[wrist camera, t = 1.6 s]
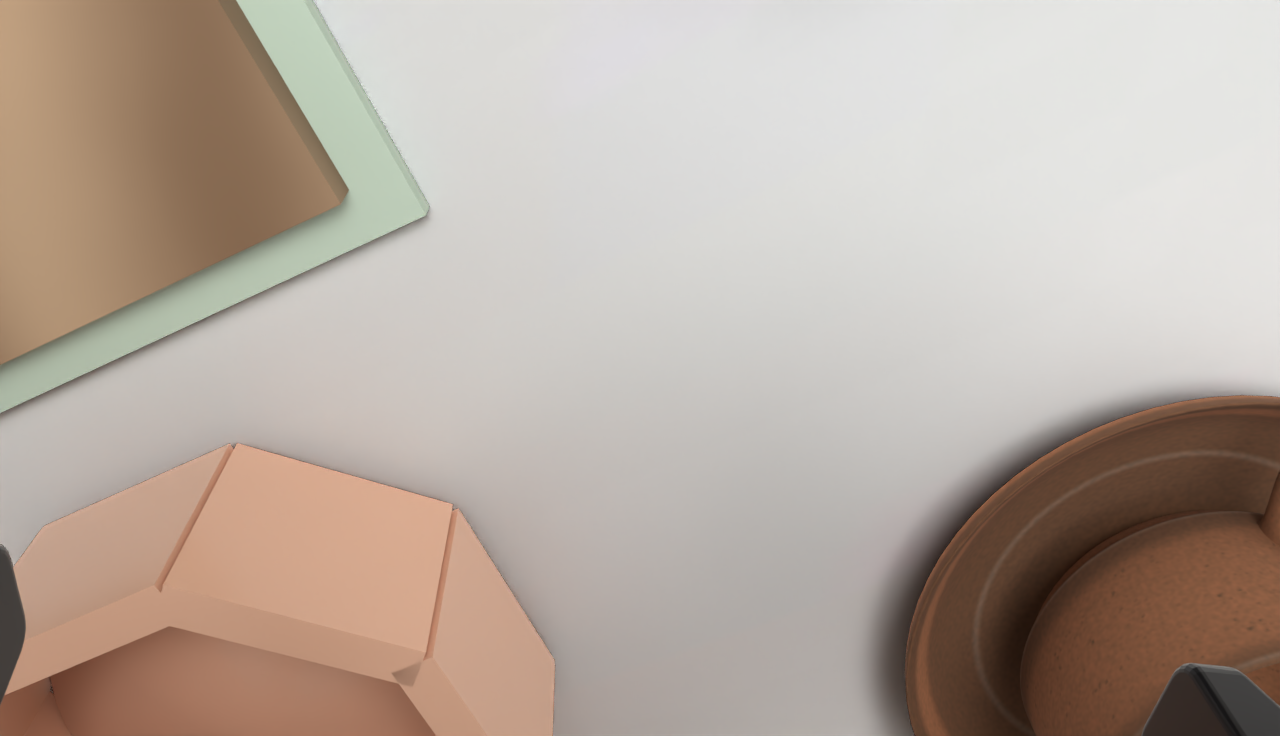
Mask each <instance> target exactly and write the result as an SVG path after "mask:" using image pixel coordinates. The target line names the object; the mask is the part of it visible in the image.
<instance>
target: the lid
mask: <svg viewBox="0 0 1280 736" xmlns="http://www.w3.org/2000/svg"><path fill="white" fill-rule="evenodd" d="M348 191H349V189H348V187H347V185H346V184H345V182H344V180H343V179H342V177H341V175H340V174H339V172H338V170H337V169H336V167H335V165H334V164H333V162H332V160H331V159H330V157H329V155H328V154H327V152H326V150H325V149H324V147H323V145H322V144H321V142H320V140H319V138H318V137H317V135H316V133H315V132H314V130H313V128H312V127H311V125H310V123H309V122H308V120H307V118H306V117H305V115H304V113H303V112H302V110H301V108H300V107H299V105H298V103H297V102H296V100H295V98H294V97H293V95H292V93H291V91H290V90H289V88H288V86H287V85H286V83H285V81H284V80H283V78H282V76H281V75H280V73H279V71H278V70H277V68H276V66H275V65H274V63H273V61H272V60H271V58H270V56H269V55H268V53H267V51H266V50H265V48H264V46H263V45H262V43H261V41H260V39H259V38H258V36H257V34H256V33H255V31H254V29H253V28H252V26H251V24H250V23H249V21H248V19H247V18H246V16H245V14H244V13H243V11H242V9H241V8H240V6H239V4H238V3H237V1H236V0H0V365H1V364H3V363H6V362H8V361H10V360H12V359H14V358H16V357H18V356H20V355H22V354H25V353H27V352H29V351H31V350H33V349H35V348H37V347H39V346H42V345H44V344H46V343H48V342H50V341H52V340H54V339H56V338H59V337H61V336H63V335H65V334H67V333H69V332H71V331H73V330H75V329H78V328H80V327H82V326H84V325H86V324H88V323H90V322H92V321H95V320H97V319H99V318H101V317H103V316H105V315H107V314H109V313H112V312H114V311H116V310H118V309H120V308H122V307H124V306H126V305H128V304H131V303H133V302H135V301H137V300H139V299H141V298H143V297H145V296H148V295H150V294H152V293H154V292H156V291H158V290H160V289H162V288H165V287H167V286H169V285H171V284H173V283H175V282H177V281H179V280H181V279H184V278H186V277H188V276H190V275H192V274H194V273H196V272H198V271H201V270H203V269H205V268H207V267H209V266H211V265H213V264H215V263H218V262H220V261H222V260H224V259H226V258H228V257H230V256H232V255H234V254H237V253H239V252H241V251H243V250H245V249H247V248H249V247H251V246H254V245H256V244H258V243H260V242H262V241H264V240H266V239H268V238H271V237H273V236H275V235H277V234H279V233H281V232H283V231H285V230H287V229H290V228H292V227H294V226H296V225H298V224H300V223H302V222H304V221H307V220H309V219H311V218H313V217H315V216H317V215H319V214H321V213H324V212H326V211H328V210H330V209H332V208H334V207H336V206H338V205H340V204H341V203H342V201H343V200H344V198H345V196H346V194H347V193H348Z"/></svg>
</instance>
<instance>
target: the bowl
mask: <svg viewBox="0 0 1280 736" xmlns="http://www.w3.org/2000/svg"><path fill="white" fill-rule="evenodd" d="M452 507H453V504H450V503H447V502H443V501H440V500H436V499H433V498H429V497H426V496H422V495H419V494H415V493H412V492H408V491H405V490H401V489H398V488H394V487H390V486H387V485H383V484H380V483H376V482H373V481H369V480H366V479H362V478H359V477H355V476H352V475H348V474H345V473H341V472H338V471H334V470H330V469H327V468H323V467H320V466H316V465H313V464H309V463H306V462H302V461H299V460H295V459H292V458H288V457H285V456H281V455H278V454H274V453H270V452H267V451H263V450H260V449H256V448H253V447H249V446H246V445H242V444H239V443H237V444H236V446H235V448H234V449H233V447H232V446H231V445H230V443H229V444H227V445H225V446H223V447H220V448H218V449H216V450H214V451H211V452H209V453H207V454H205V455H202V456H200V457H198V458H196V459H193V460H191V461H189V462H187V463H184V464H182V465H180V466H178V467H175V468H173V469H171V470H169V471H166V472H164V473H162V474H160V475H157V476H155V477H153V478H151V479H148V480H146V481H144V482H142V483H139V484H137V485H135V486H133V487H130V488H128V489H126V490H124V491H121V492H119V493H117V494H115V495H112V496H110V497H108V498H106V499H103V500H101V501H99V502H97V503H94V504H92V505H90V506H88V507H85V508H83V509H81V510H79V511H76V512H74V513H72V514H70V515H67V516H65V517H63V518H61V519H58V520H56V521H54V522H52V523H49V524H47V525H45V526H43V528H42V529H41V530H40V531H39V532H38V534H37V535H36V537H35V538H34V539H33V541H32V542H31V543H30V545H29V546H28V548H27V549H26V550H25V552H24V553H23V555H22V556H21V557H20V559H19V560H18V561H17V563H16V564H15V566H14V567H13V569H14V573H15V577H16V581H17V585H18V589H19V593H20V597H21V601H22V605H23V609H24V613H25V619H26V632H25V639H24V644H23V648H22V651H21V654H20V656H19V659H18V661H17V664H16V667H15V669H14V672H13V674H12V677H11V680H10V682H9V685H8V687H7V690H6V693H5V695H4V698H3V700H2V703H1V706H0V736H553V712H554V684H555V660H554V658H553V657H552V655H551V653H550V652H549V650H548V649H547V647H546V646H545V644H544V642H543V641H542V639H541V638H540V636H539V634H538V633H537V631H536V630H535V628H534V627H533V625H532V623H531V622H530V620H529V619H528V617H527V615H526V614H525V612H524V611H523V609H522V608H521V606H520V604H519V603H518V601H517V600H516V598H515V597H514V595H513V593H512V592H511V590H510V589H509V587H508V585H507V584H506V582H505V581H504V579H503V578H502V576H501V574H500V573H499V571H498V570H497V568H496V567H495V565H494V563H493V562H492V560H491V559H490V557H489V555H488V554H487V552H486V551H485V549H484V548H483V546H482V544H481V543H480V541H479V540H478V538H477V537H476V535H475V533H474V532H473V530H472V529H471V527H470V525H469V524H468V522H467V521H466V519H465V518H464V516H463V514H462V513H461V511H460V510H459V508H458V509H455V510H453V511H452ZM51 684H52V688H53V692H54V695H53V694H52V693H51V691H50V689H51Z"/></svg>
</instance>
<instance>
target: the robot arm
mask: <svg viewBox="0 0 1280 736" xmlns="http://www.w3.org/2000/svg"><path fill="white" fill-rule="evenodd" d="M25 632H26V619H25V613H24V609H23V605H22V601H21V597H20V593H19V589H18V585H17V581H16V577H15V573H14V569H13V565H12V561H11V558H10V555H9V552H8V551H7V549H6V548H5V547H4V546H3V545H2V544H0V706H1V703H2V700H3V698H4V695H5V693H6V690H7V687H8V685H9V682H10V680H11V677H12V674H13V672H14V669H15V667H16V664H17V661H18V659H19V656H20V654H21V651H22V648H23V644H24V639H25ZM1141 736H1280V706H1279V705H1278V704H1277V703H1276V702H1275V701H1274V700H1272V699H1271V698H1270V697H1269V696H1268V695H1267V694H1266V693H1265V692H1264V691H1263V690H1261V689H1260V688H1259V687H1258V686H1257V685H1256V684H1255V683H1254V682H1253V681H1251V680H1250V679H1249V678H1248V677H1247V676H1246V675H1244V674H1243V673H1242V672H1240V671H1238V670H1237V669H1234V668H1231V667H1226V666H1217V665H1207V664H1197V663H1186V664H1183V665H1182V666H1180V667H1179V668H1177V669H1176V670H1175V671H1174V673H1173V674H1172V676H1171V678H1170V680H1169V682H1168V683H1167V685H1166V687H1165V689H1164V691H1163V693H1162V694H1161V696H1160V698H1159V700H1158V702H1157V704H1156V705H1155V707H1154V709H1153V711H1152V713H1151V715H1150V716H1149V718H1148V720H1147V722H1146V724H1145V726H1144V728H1143V731H1142V735H1141Z"/></svg>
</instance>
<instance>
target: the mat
mask: <svg viewBox="0 0 1280 736" xmlns="http://www.w3.org/2000/svg"><path fill="white" fill-rule="evenodd" d="M236 1H237V3H238V4H239V6H240V8H241V9H242V11H243V13H244V14H245V16H246V18H247V19H248V21H249V23H250V24H251V26H252V28H253V29H254V31H255V33H256V34H257V36H258V38H259V39H260V41H261V43H262V45H263V46H264V48H265V50H266V51H267V53H268V55H269V56H270V58H271V60H272V61H273V63H274V65H275V66H276V68H277V70H278V71H279V73H280V75H281V76H282V78H283V80H284V81H285V83H286V85H287V86H288V88H289V90H290V91H291V93H292V95H293V97H294V98H295V100H296V102H297V103H298V105H299V107H300V108H301V110H302V112H303V113H304V115H305V117H306V118H307V120H308V122H309V123H310V125H311V127H312V128H313V130H314V132H315V133H316V135H317V137H318V138H319V140H320V142H321V144H322V145H323V147H324V149H325V150H326V152H327V154H328V155H329V157H330V159H331V160H332V162H333V164H334V165H335V167H336V169H337V170H338V172H339V174H340V175H341V177H342V179H343V180H344V182H345V184H346V185H347V187H348V189H349V191H348V193H347V194H346V196H345V198H344V200H343V201H342V203H341V204H340V205H338V206H336V207H334V208H332V209H330V210H328V211H326V212H324V213H321V214H319V215H317V216H315V217H313V218H311V219H309V220H307V221H304V222H302V223H300V224H298V225H296V226H294V227H292V228H290V229H287V230H285V231H283V232H281V233H279V234H277V235H275V236H273V237H271V238H268V239H266V240H264V241H262V242H260V243H258V244H256V245H254V246H251V247H249V248H247V249H245V250H243V251H241V252H239V253H237V254H234V255H232V256H230V257H228V258H226V259H224V260H222V261H220V262H218V263H215V264H213V265H211V266H209V267H207V268H205V269H203V270H201V271H198V272H196V273H194V274H192V275H190V276H188V277H186V278H184V279H181V280H179V281H177V282H175V283H173V284H171V285H169V286H167V287H165V288H162V289H160V290H158V291H156V292H154V293H152V294H150V295H148V296H145V297H143V298H141V299H139V300H137V301H135V302H133V303H131V304H128V305H126V306H124V307H122V308H120V309H118V310H116V311H114V312H112V313H109V314H107V315H105V316H103V317H101V318H99V319H97V320H95V321H92V322H90V323H88V324H86V325H84V326H82V327H80V328H78V329H75V330H73V331H71V332H69V333H67V334H65V335H63V336H61V337H59V338H56V339H54V340H52V341H50V342H48V343H46V344H44V345H42V346H39V347H37V348H35V349H33V350H31V351H29V352H27V353H25V354H22V355H20V356H18V357H16V358H14V359H12V360H10V361H8V362H6V363H3V364H1V365H0V413H1V412H4V411H6V410H8V409H10V408H12V407H14V406H17V405H19V404H21V403H23V402H25V401H27V400H30V399H32V398H34V397H36V396H38V395H40V394H42V393H45V392H47V391H49V390H51V389H53V388H55V387H58V386H60V385H62V384H64V383H66V382H68V381H70V380H73V379H75V378H77V377H79V376H81V375H83V374H86V373H88V372H90V371H92V370H94V369H96V368H98V367H101V366H103V365H105V364H107V363H109V362H111V361H114V360H116V359H118V358H120V357H122V356H124V355H126V354H129V353H131V352H133V351H135V350H137V349H139V348H142V347H144V346H146V345H148V344H150V343H152V342H154V341H157V340H159V339H161V338H163V337H165V336H167V335H170V334H172V333H174V332H176V331H178V330H180V329H182V328H185V327H187V326H189V325H191V324H193V323H195V322H198V321H200V320H202V319H204V318H206V317H208V316H210V315H213V314H215V313H217V312H219V311H221V310H223V309H226V308H228V307H230V306H232V305H234V304H236V303H238V302H241V301H243V300H245V299H247V298H249V297H251V296H254V295H256V294H258V293H260V292H262V291H264V290H266V289H269V288H271V287H273V286H275V285H277V284H279V283H282V282H284V281H286V280H288V279H290V278H292V277H294V276H297V275H299V274H301V273H303V272H305V271H307V270H310V269H312V268H314V267H316V266H318V265H320V264H322V263H325V262H327V261H329V260H331V259H333V258H335V257H338V256H340V255H342V254H344V253H346V252H348V251H350V250H353V249H355V248H357V247H359V246H361V245H363V244H366V243H368V242H370V241H372V240H374V239H376V238H378V237H381V236H383V235H385V234H387V233H389V232H391V231H394V230H396V229H398V228H400V227H402V226H404V225H406V224H409V223H411V222H413V221H415V220H417V219H419V218H422V217H424V216H426V215H427V212H428V209H429V207H430V206H429V204H428V203H427V201H426V199H425V197H424V196H423V194H422V192H421V190H420V189H419V187H418V185H417V183H416V181H415V180H414V178H413V176H412V174H411V173H410V171H409V169H408V167H407V166H406V164H405V162H404V160H403V159H402V157H401V155H400V153H399V151H398V150H397V148H396V146H395V144H394V143H393V141H392V139H391V137H390V136H389V134H388V132H387V130H386V129H385V127H384V125H383V123H382V122H381V120H380V118H379V116H378V114H377V113H376V111H375V109H374V107H373V106H372V104H371V102H370V100H369V99H368V97H367V95H366V93H365V92H364V90H363V88H362V86H361V85H360V83H359V81H358V79H357V77H356V76H355V74H354V72H353V70H352V69H351V67H350V65H349V63H348V62H347V60H346V58H345V56H344V55H343V53H342V51H341V49H340V48H339V46H338V44H337V42H336V40H335V39H334V37H333V35H332V33H331V32H330V30H329V28H328V26H327V25H326V23H325V21H324V19H323V18H322V16H321V14H320V12H319V10H318V9H317V7H316V5H315V3H314V2H313V0H236Z"/></svg>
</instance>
